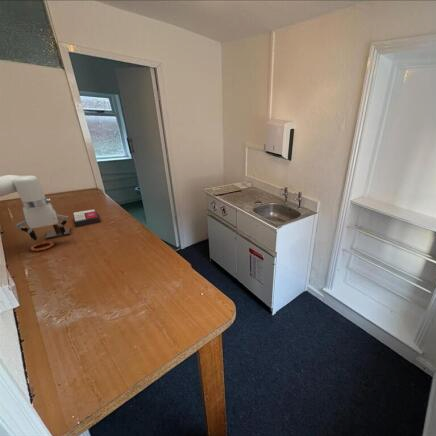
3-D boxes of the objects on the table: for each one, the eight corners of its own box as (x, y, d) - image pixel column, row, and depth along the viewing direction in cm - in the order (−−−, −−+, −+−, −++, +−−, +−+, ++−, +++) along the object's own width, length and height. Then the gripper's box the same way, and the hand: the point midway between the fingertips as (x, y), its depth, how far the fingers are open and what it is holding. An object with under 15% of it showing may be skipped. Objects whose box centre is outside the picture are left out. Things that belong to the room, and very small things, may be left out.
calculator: (73, 221, 132) (72, 211, 141) (76, 227, 134) (74, 218, 143) (98, 216, 139) (94, 208, 148) (100, 222, 141) (96, 214, 150)
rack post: (46, 239, 119) (38, 221, 115) (48, 233, 125) (41, 216, 121) (69, 234, 124) (63, 217, 121) (70, 228, 131) (64, 212, 127)
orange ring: (29, 253, 107) (28, 251, 106) (32, 246, 112) (31, 244, 112) (53, 248, 112) (52, 246, 111) (55, 241, 117) (54, 239, 117)
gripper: (61, 197, 113) (73, 229, 120) (9, 204, 103) (25, 238, 110) (60, 201, 108) (73, 234, 115) (5, 209, 98) (22, 244, 104)
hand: (49, 236), depth 112 cm, fingers open, 9 cm apart
